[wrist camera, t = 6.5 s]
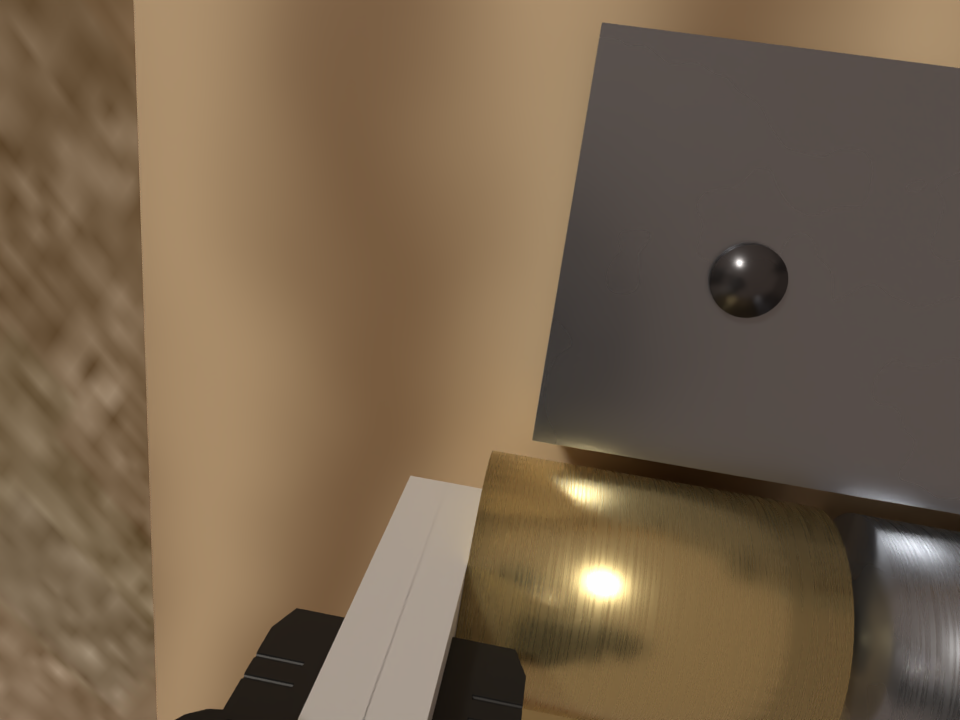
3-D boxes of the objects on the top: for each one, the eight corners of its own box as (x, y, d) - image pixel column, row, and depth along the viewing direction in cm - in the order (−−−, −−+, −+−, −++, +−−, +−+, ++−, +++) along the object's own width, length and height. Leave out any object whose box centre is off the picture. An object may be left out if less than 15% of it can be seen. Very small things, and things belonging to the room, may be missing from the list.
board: (181, 731, 22) (158, 765, 21) (165, -109, 14) (129, -125, 13) (955, 894, 20) (978, 942, 19) (1392, 38, 13) (1470, 34, 12)
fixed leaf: (505, 596, 17) (479, 760, 13) (600, 29, 13) (607, 3, 9) (1092, 708, 16) (1268, 923, 12) (1400, 131, 12) (1833, 157, 8)
